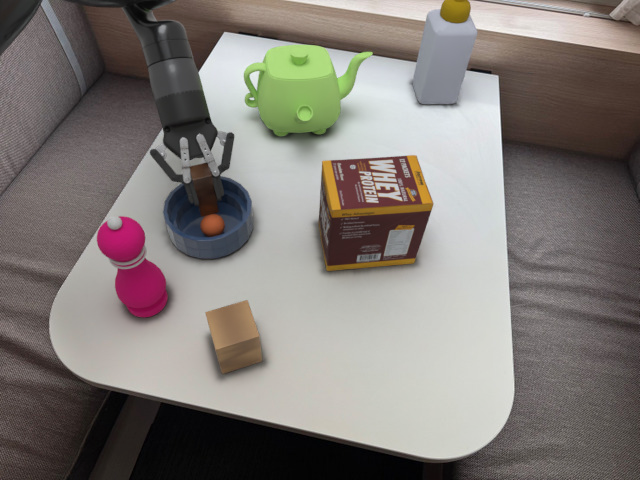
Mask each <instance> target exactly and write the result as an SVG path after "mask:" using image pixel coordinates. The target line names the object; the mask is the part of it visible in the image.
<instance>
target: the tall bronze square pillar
mask: <svg viewBox="0 0 640 480" xmlns="http://www.w3.org/2000/svg"><path fill="white" fill-rule="evenodd" d="M190 173H191V179H192V183H193V184H194V188H195V190H196V194H197V197H198V201H199V205H200V206H198V208H199V211H200V214H201V217H202V216H206V215H210V214H214V213H218V212H219V210H218V205H217V200H216V196H215V191H214V185H213V178H212V174H211V171H210V168H209V166H208V164H207V163H205V162H203V163H199V164H194V165H190Z"/></svg>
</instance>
